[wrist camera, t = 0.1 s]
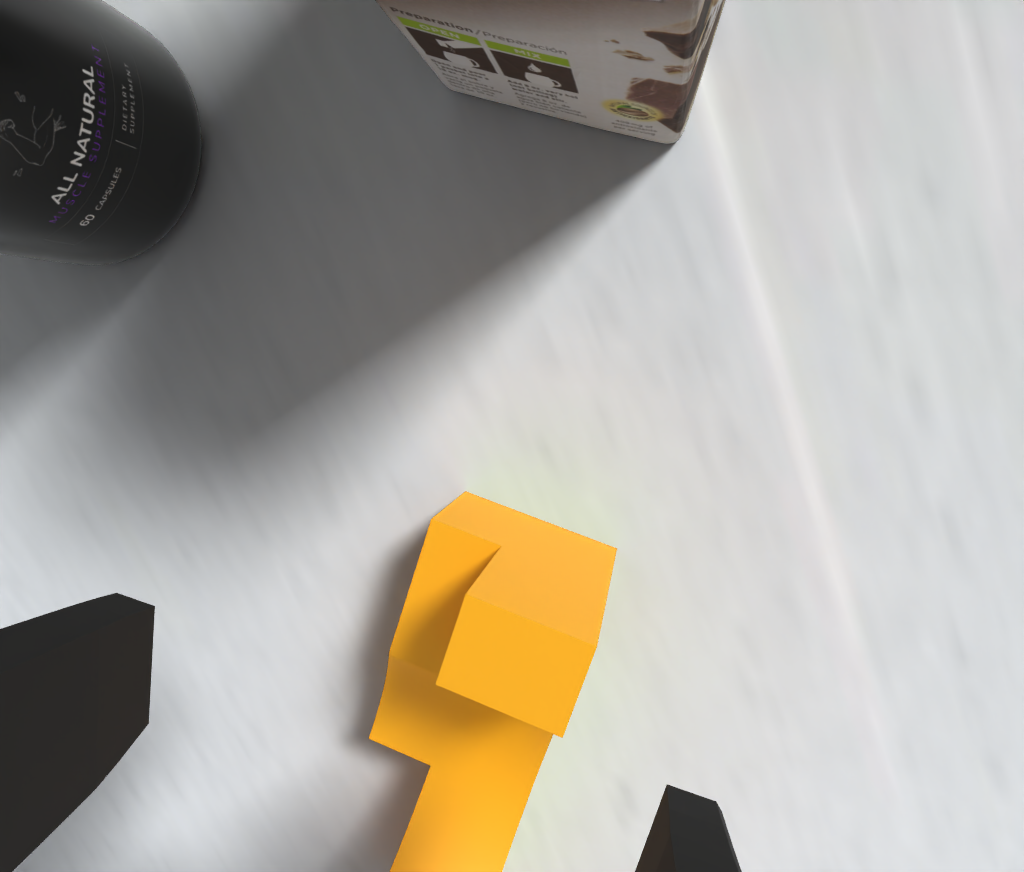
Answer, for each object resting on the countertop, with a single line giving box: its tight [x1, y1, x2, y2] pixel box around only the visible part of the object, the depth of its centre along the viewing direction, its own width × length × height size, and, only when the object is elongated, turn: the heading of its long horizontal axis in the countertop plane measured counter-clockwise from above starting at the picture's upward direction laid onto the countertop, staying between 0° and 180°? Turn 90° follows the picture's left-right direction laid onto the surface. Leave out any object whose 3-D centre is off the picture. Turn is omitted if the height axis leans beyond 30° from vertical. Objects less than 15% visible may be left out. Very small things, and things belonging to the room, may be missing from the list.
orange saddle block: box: [369, 491, 617, 872], centre depth 18 cm, size 12×4×6 cm, turn 162°
